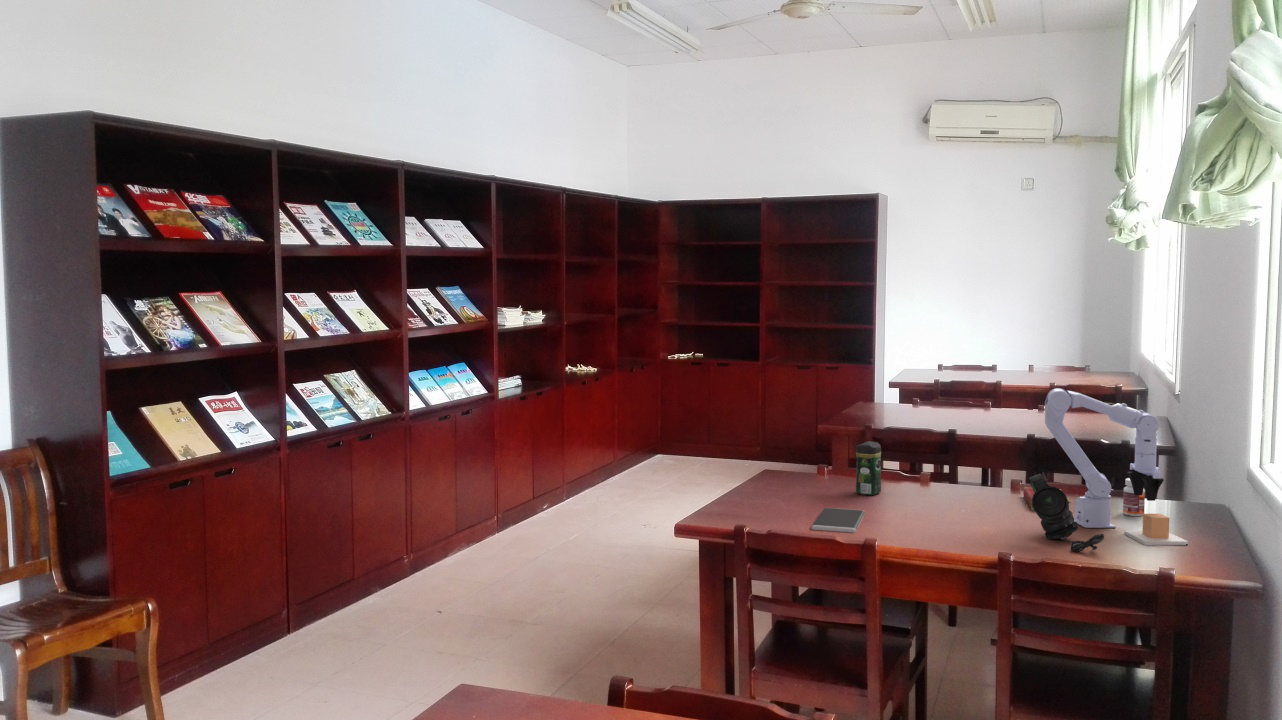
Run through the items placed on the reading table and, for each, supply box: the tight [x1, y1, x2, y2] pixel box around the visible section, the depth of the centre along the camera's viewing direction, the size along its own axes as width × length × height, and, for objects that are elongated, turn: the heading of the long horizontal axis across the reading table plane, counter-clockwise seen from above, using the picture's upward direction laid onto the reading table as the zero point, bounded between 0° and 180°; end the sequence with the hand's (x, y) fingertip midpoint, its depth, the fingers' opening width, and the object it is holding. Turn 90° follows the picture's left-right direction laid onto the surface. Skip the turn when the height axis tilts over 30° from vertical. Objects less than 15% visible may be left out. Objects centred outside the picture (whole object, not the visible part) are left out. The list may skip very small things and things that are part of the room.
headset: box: [1028, 473, 1105, 553], centre depth 273 cm, size 18×14×29 cm
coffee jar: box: [855, 440, 882, 496], centre depth 339 cm, size 10×8×19 cm
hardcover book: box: [1022, 486, 1072, 511], centre depth 320 cm, size 12×21×4 cm, turn 165°
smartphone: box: [811, 507, 866, 534], centre depth 299 cm, size 13×27×2 cm, turn 161°
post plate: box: [1123, 530, 1189, 546], centre depth 274 cm, size 12×12×4 cm
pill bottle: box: [1122, 477, 1146, 517], centre depth 305 cm, size 6×6×11 cm
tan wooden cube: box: [1141, 513, 1170, 538], centre depth 274 cm, size 5×5×6 cm
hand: (1144, 497), depth 287 cm, fingers open, 7 cm apart
